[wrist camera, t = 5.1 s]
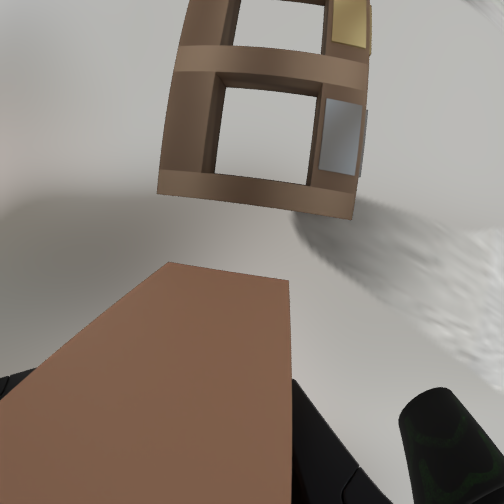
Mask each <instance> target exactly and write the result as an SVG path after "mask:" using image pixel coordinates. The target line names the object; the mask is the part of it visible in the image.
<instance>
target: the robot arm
mask: <svg viewBox="0 0 504 504" xmlns="http://www.w3.org/2000/svg"><path fill="white" fill-rule="evenodd" d="M35 369H36V368H33V369H30V370H27V371H24V372H20V373H16V374H13V375H10V377H9V376H6V377H2V378H0V400H1V399H2V398H4V397H5V396H6V395H7V394H8V393H9V392H10V391H11V390H12V389H14V388H15V387H16V386H17V385H18V384H19V383H20V382H21V381H23V380H24V379H25V378H26V377H27V376H28V375H29V374H30V373H32V372H33V371H34V370H35ZM358 467H359V464H358V463H357V462H356V460H355V459H354V458H353V456H352V455H351V454H350V453H349V451H348V450H347V449H346V447H345V446H344V445H343V443H342V442H341V441H340V439H339V438H338V437H337V436H336V434H335V433H334V432H333V430H332V429H331V428H330V426H329V425H328V424H327V422H326V421H325V420H324V418H323V417H322V416H321V414H320V413H319V412H318V410H317V409H316V407H315V406H314V405H313V403H312V402H311V401H310V399H309V398H308V397H307V395H306V394H305V393H304V391H303V390H302V388H301V387H300V386H299V384H298V383H297V381H296V380H294V379H292V482H291V504H393V503H392V502H391V501H390V500H389V499H388V498H387V497H386V496H385V495H384V494H383V493H382V492H381V491H380V489H379V488H378V487H377V486H376V485H375V484H374V483H373V481H372V480H371V479H370V478H369V477H368V475H367V474H366V473H365V472H364V470H363V469H362V468H361V467H359V468H358Z"/></svg>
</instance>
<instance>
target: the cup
mask: <svg viewBox="0 0 504 504" xmlns="http://www.w3.org/2000/svg"><path fill="white" fill-rule="evenodd" d="M399 428H400V432H401V437H402V441H403V446H404V451H405V455H406V460H407V465H408V470H409V476H410V481H411V487H412V493H413V499H414V504H504V456H503V454H502V453H501V452H500V451H499V449H498V448H497V447H496V445H495V444H494V443H493V441H492V440H491V439H490V438H489V436H488V435H487V434H486V433H485V431H484V430H483V429H482V428H481V426H480V425H479V424H478V423H477V422H476V420H475V419H474V418H473V417H472V415H471V414H470V413H469V412H468V410H467V409H466V408H465V407H464V406H463V404H462V403H461V402H460V401H459V400H458V399H457V397H456V396H455V395H454V394H453V393H452V391H451V390H449V389H447V388H443V387H439V388H433V389H430V390H427V391H425V392H423V393H421V394H419V395H418V396H416V397H415V398H414V399H412V400H411V401H410V402H409V403H408V404H407V405H406V406H405V408H404V409H403V410H402V412H401V414H400V416H399Z"/></svg>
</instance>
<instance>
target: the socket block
mask: <svg viewBox="0 0 504 504" xmlns="http://www.w3.org/2000/svg"><path fill="white" fill-rule="evenodd" d="M282 1H292V2H301V3H308V4H315V5H321V6H325V7H324V22H323V36H322V47H321V55H320V54H314V53H307V52H300V51H292V50H284V49H275V48H264V47H248V46H233V41H234V36H235V30H236V25H237V20H238V14H239V8H240V4H241V0H190V1H189V4H188V8H187V12H186V16H185V20H184V24H183V29H182V33H181V37H180V42H179V46H178V51H177V56H176V61H175V66H174V71H173V76H172V82H171V87H170V93H169V99H168V106H167V112H166V119H165V125H164V132H163V140H162V148H161V157H160V166H159V176H158V186H157V194H162V195H172V196H182V197H190V198H200V199H209V200H217V201H224V202H232V203H240V204H249V205H255V206H263V207H270V208H277V209H284V210H291V211H297V212H304V213H310V214H317V215H323V216H329V217H335V218H341V219H347V220H352V216H353V210H354V204H355V197H356V191H357V184H358V177H360V176H361V169H362V161H363V153H364V144H365V135H366V125H367V115H368V110H366V104H367V90H368V73H369V56H370V55H371V38H372V37H371V36H372V13H371V12H372V9H371V5H370V0H282ZM226 87H231V88H245V89H258V90H267V91H276V92H285V93H292V94H300V95H306V96H313V97H317V100H316V109H315V118H314V127H313V135H312V143H311V151H310V159H309V166H308V174H307V181H306V185H301V184H295V183H288V182H281V181H274V180H266V179H259V178H251V177H243V176H234V175H225V174H215V164H216V157H217V148H218V141H219V133H220V126H221V118H222V111H223V104H224V98H225V91H226Z"/></svg>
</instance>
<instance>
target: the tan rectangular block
mask: <svg viewBox="0 0 504 504" xmlns="http://www.w3.org/2000/svg"><path fill="white" fill-rule="evenodd" d="M291 482H292V368H291V328H290V299H289V281H288V280H282V279H275V278H268V277H261V276H254V275H248V274H241V273H235V272H228V271H221V270H215V269H209V268H203V267H197V266H190V265H184V264H178V263H172V262H168V263H166V264H165V265H164V266H162V267H161V268H160V269H158V270H157V271H156V272H155V273H153V274H152V275H151V276H149V277H148V278H147V279H145V280H144V281H143V282H141V283H140V284H139V285H138V286H136V287H135V288H134V289H132V290H131V291H130V292H129V293H127V294H126V295H125V296H124V297H122V298H121V299H120V300H119V301H117V302H116V303H115V304H113V305H112V306H111V307H110V308H108V309H107V310H106V311H105V312H103V313H102V314H101V315H100V316H99V317H97V318H96V319H95V320H94V321H92V322H91V323H90V324H89V325H87V326H86V327H85V328H84V329H82V330H81V331H80V332H79V333H78V334H77V335H75V336H74V337H73V338H72V339H70V340H69V341H68V342H67V343H66V344H64V345H63V346H62V347H61V348H60V349H58V350H57V351H56V352H55V353H54V354H52V356H50V357H49V358H48V359H47V360H45V361H44V362H43V363H42V364H41V365H40V366H38V367H37V368H36V369H35V370H34V371H33V372H32V373H30V374H29V375H28V376H27V377H26V378H25V379H24V380H23V381H21V382H20V383H19V384H18V385H17V386H16V387H15V388H14V389H12V390H11V391H10V392H9V393H8V394H7V395H6V396H5V397H4V398H2V399H1V400H0V504H291Z"/></svg>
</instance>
